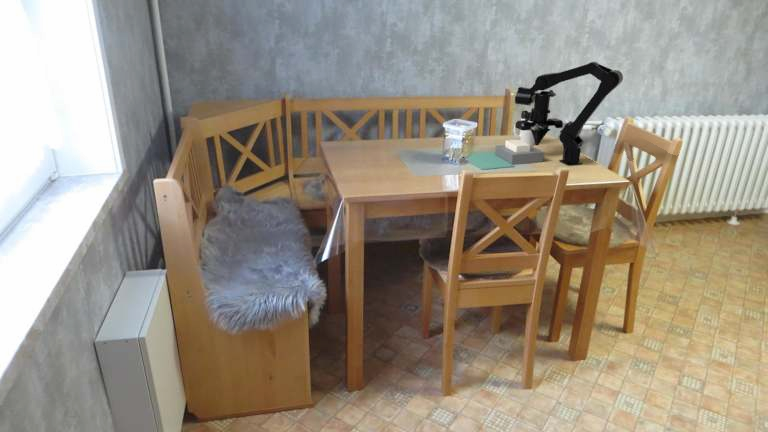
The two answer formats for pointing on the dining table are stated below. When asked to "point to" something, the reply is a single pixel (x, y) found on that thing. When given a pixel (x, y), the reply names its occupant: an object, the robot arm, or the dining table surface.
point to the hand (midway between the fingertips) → (536, 145)
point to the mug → (525, 135)
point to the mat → (488, 161)
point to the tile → (517, 146)
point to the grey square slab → (519, 155)
